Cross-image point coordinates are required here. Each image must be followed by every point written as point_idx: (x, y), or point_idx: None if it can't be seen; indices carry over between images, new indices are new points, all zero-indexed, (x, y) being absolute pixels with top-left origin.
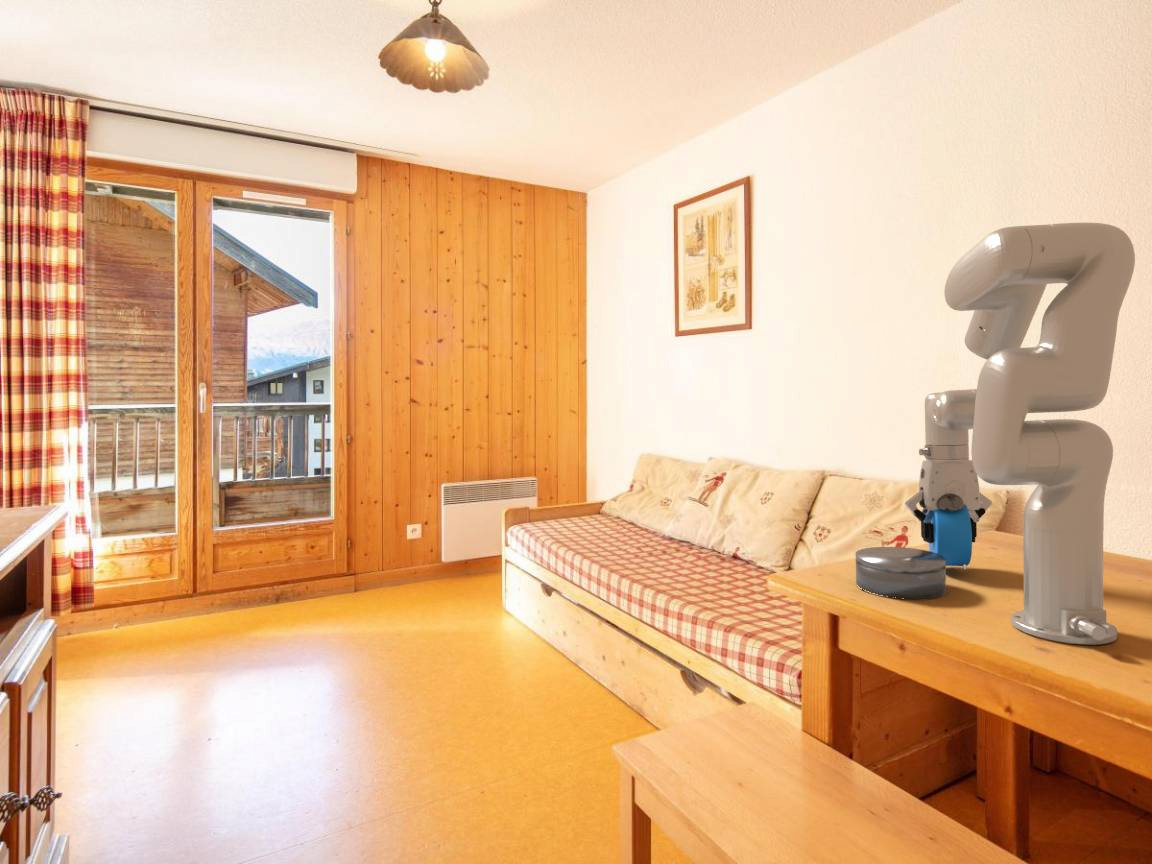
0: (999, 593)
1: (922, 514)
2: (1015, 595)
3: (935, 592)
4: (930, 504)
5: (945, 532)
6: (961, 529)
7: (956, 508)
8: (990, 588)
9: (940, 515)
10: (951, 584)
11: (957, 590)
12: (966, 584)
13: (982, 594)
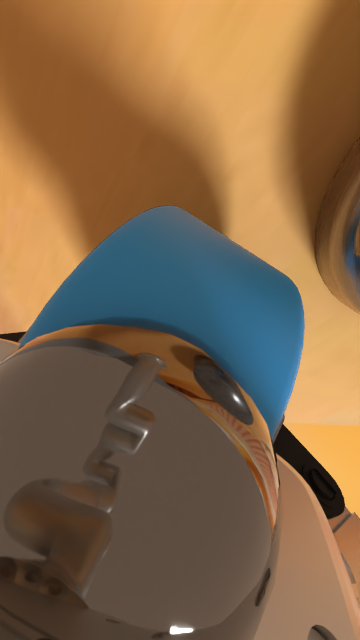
0: (230, 57)
1: (285, 457)
2: (203, 17)
3: None
4: (330, 551)
5: (271, 272)
6: (196, 230)
7: (144, 326)
8: (212, 132)
9: (269, 372)
10: (276, 201)
11: (322, 126)
12: (239, 191)
13: (292, 49)
